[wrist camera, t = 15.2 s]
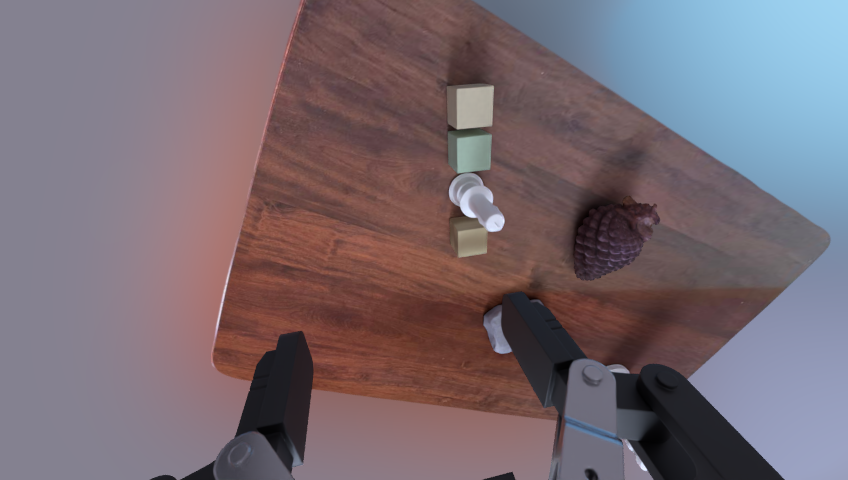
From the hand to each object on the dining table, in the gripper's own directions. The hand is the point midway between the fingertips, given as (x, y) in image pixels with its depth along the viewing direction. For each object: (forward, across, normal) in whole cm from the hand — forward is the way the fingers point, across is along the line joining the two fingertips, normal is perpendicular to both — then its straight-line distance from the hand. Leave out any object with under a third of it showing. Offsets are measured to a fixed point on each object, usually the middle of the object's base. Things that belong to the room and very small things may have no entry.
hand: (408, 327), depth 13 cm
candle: (+34, -13, +8) cm, 38 cm away
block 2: (+34, -13, +2) cm, 37 cm away
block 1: (+34, -13, -4) cm, 37 cm away
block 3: (+34, -13, +15) cm, 39 cm away
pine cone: (+34, -36, +19) cm, 53 cm away
